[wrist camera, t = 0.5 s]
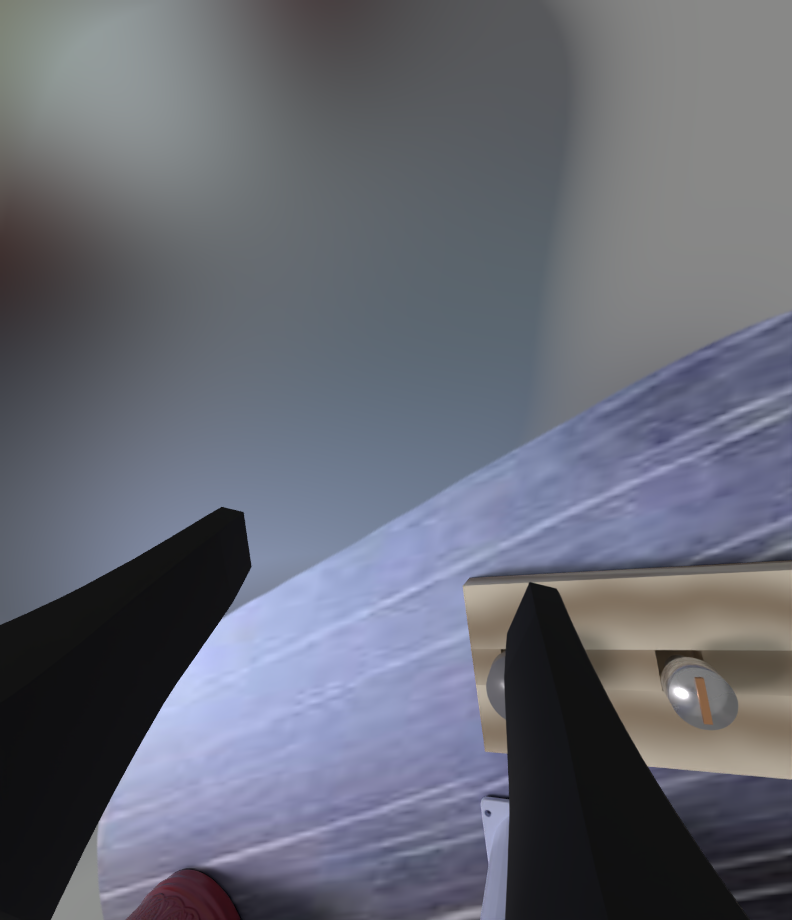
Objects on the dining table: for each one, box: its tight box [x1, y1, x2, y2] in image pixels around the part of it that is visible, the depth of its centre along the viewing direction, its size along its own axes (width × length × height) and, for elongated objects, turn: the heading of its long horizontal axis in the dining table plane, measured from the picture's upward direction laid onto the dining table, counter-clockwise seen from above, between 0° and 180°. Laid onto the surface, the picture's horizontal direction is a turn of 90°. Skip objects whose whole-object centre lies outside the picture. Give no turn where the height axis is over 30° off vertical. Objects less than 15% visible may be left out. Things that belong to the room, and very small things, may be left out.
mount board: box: [463, 560, 792, 779], centre depth 27 cm, size 12×27×3 cm, turn 97°
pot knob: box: [661, 655, 738, 730], centre depth 24 cm, size 3×3×4 cm
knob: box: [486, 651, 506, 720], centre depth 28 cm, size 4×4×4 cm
